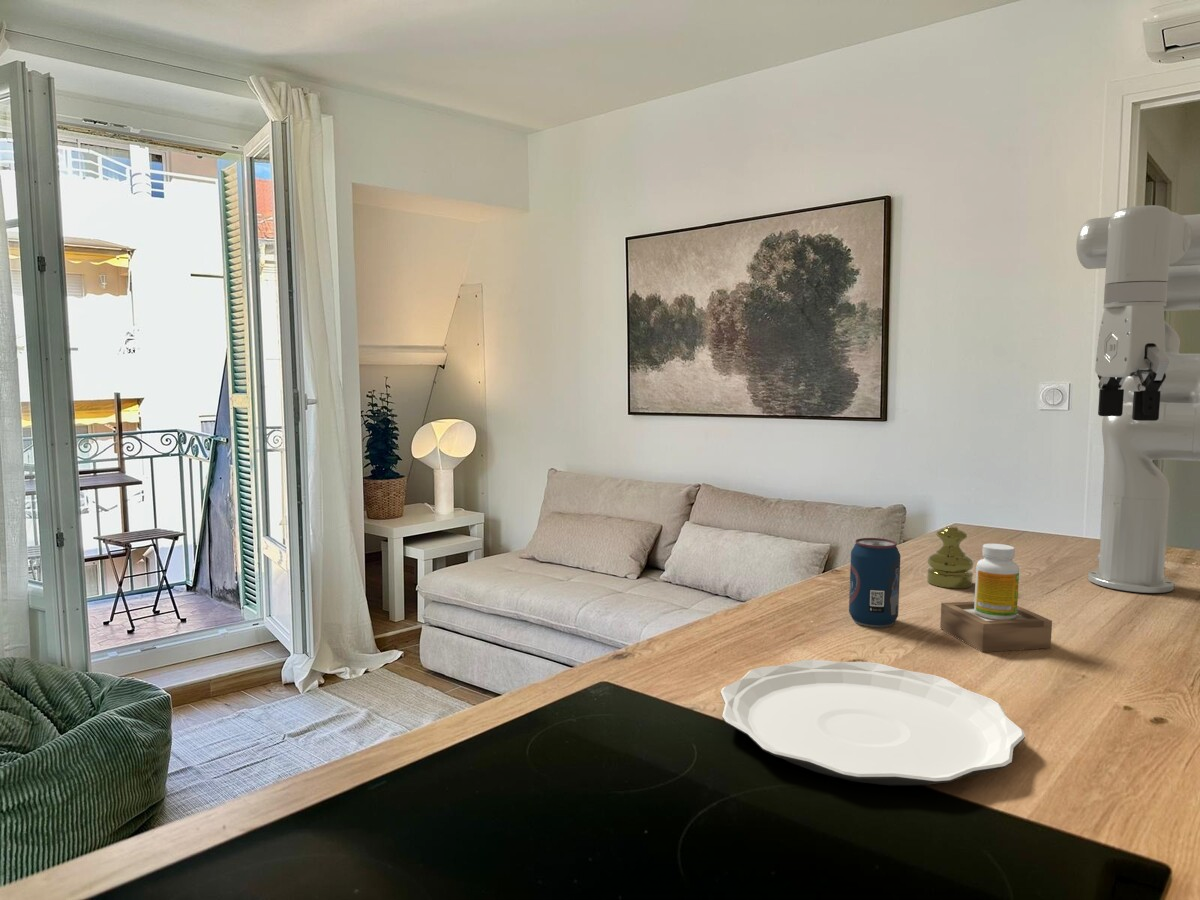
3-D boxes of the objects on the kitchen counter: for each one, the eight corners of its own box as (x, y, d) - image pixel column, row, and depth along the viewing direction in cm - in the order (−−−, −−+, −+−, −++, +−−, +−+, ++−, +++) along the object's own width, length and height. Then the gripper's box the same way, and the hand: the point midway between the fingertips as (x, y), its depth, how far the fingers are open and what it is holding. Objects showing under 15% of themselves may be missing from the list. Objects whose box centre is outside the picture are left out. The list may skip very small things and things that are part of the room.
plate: (843, 833, 68) (844, 805, 68) (671, 701, 95) (671, 681, 95) (1090, 766, 80) (1091, 742, 80) (875, 665, 107) (876, 647, 107)
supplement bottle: (1021, 622, 114) (1025, 551, 113) (979, 619, 115) (983, 549, 114) (1010, 610, 119) (1014, 543, 118) (969, 608, 120) (973, 541, 119)
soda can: (846, 613, 128) (849, 536, 127) (894, 616, 127) (897, 538, 126) (850, 627, 122) (853, 545, 120) (901, 630, 120) (904, 547, 119)
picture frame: (940, 628, 121) (941, 602, 121) (1003, 625, 122) (1005, 600, 122) (982, 652, 111) (983, 624, 111) (1050, 648, 113) (1052, 620, 112)
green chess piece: (981, 585, 145) (984, 528, 144) (956, 591, 141) (958, 533, 140) (943, 576, 151) (945, 521, 150) (917, 582, 147) (920, 525, 146)
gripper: (1078, 301, 128) (1072, 414, 129) (1139, 292, 111) (1130, 422, 112) (1131, 301, 127) (1123, 414, 129) (1200, 291, 110) (1190, 422, 112)
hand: (1126, 418), depth 121 cm, fingers open, 9 cm apart
